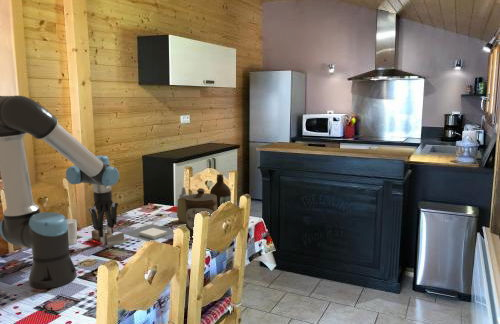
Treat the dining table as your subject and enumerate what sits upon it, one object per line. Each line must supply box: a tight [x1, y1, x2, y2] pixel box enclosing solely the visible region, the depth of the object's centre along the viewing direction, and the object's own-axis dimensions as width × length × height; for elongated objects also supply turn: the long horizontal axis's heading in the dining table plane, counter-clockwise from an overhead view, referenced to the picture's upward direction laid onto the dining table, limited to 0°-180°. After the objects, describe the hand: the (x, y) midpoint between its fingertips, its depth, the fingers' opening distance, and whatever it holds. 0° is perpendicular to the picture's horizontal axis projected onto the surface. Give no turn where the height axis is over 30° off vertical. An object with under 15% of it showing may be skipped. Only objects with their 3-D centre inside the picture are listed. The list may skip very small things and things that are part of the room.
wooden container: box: [185, 188, 217, 239], centre depth 195 cm, size 15×15×22 cm
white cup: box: [66, 218, 78, 246], centre depth 186 cm, size 8×8×10 cm
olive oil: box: [209, 173, 232, 209], centre depth 213 cm, size 11×11×25 cm
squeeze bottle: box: [176, 186, 190, 224], centre depth 216 cm, size 8×8×18 cm
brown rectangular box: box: [91, 229, 125, 249], centre depth 187 cm, size 17×8×5 cm, turn 53°
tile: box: [139, 228, 167, 240], centre depth 195 cm, size 8×2×10 cm
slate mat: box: [123, 223, 174, 242], centre depth 199 cm, size 18×20×1 cm
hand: (106, 242), depth 187 cm, fingers open, 3 cm apart
